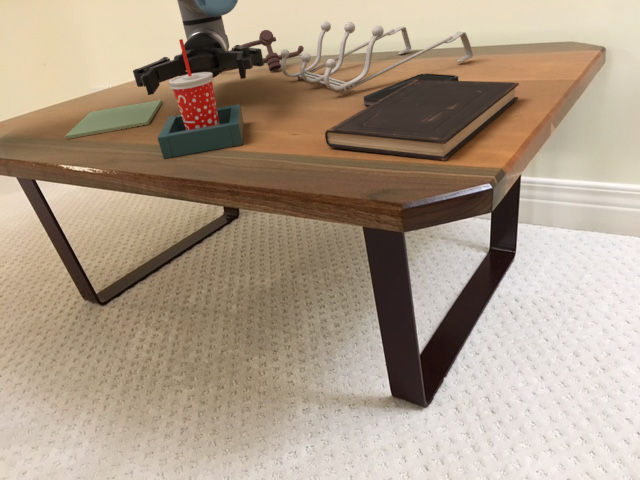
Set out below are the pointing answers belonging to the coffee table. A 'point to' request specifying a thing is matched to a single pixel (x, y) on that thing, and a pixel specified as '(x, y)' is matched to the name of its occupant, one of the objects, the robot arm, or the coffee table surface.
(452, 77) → the phone
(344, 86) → the over door rack
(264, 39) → the toilet paper hanger
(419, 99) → the hardcover book
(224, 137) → the open rectangular box
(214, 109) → the beverage cup
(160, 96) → the coffee table surface
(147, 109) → the mat
